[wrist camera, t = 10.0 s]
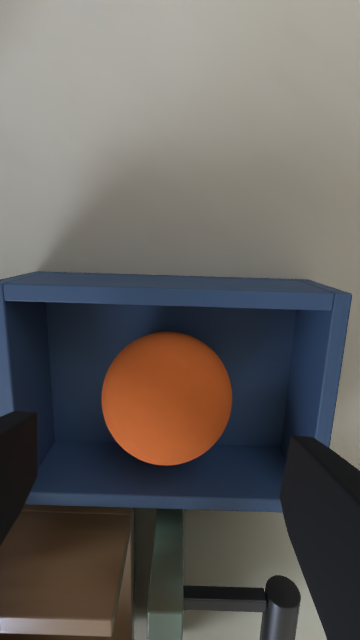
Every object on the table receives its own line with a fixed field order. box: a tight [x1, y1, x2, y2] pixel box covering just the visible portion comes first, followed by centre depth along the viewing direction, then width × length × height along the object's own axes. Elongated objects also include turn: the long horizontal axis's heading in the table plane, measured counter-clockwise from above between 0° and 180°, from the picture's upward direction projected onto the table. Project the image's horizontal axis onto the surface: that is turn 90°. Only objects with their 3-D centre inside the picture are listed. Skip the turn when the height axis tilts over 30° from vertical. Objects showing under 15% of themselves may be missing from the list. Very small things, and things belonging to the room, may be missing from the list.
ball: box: [102, 331, 232, 466], centre depth 13 cm, size 5×5×5 cm
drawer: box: [0, 504, 301, 640], centre depth 15 cm, size 17×11×6 cm, turn 88°
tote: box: [0, 272, 352, 512], centre depth 14 cm, size 12×9×4 cm
